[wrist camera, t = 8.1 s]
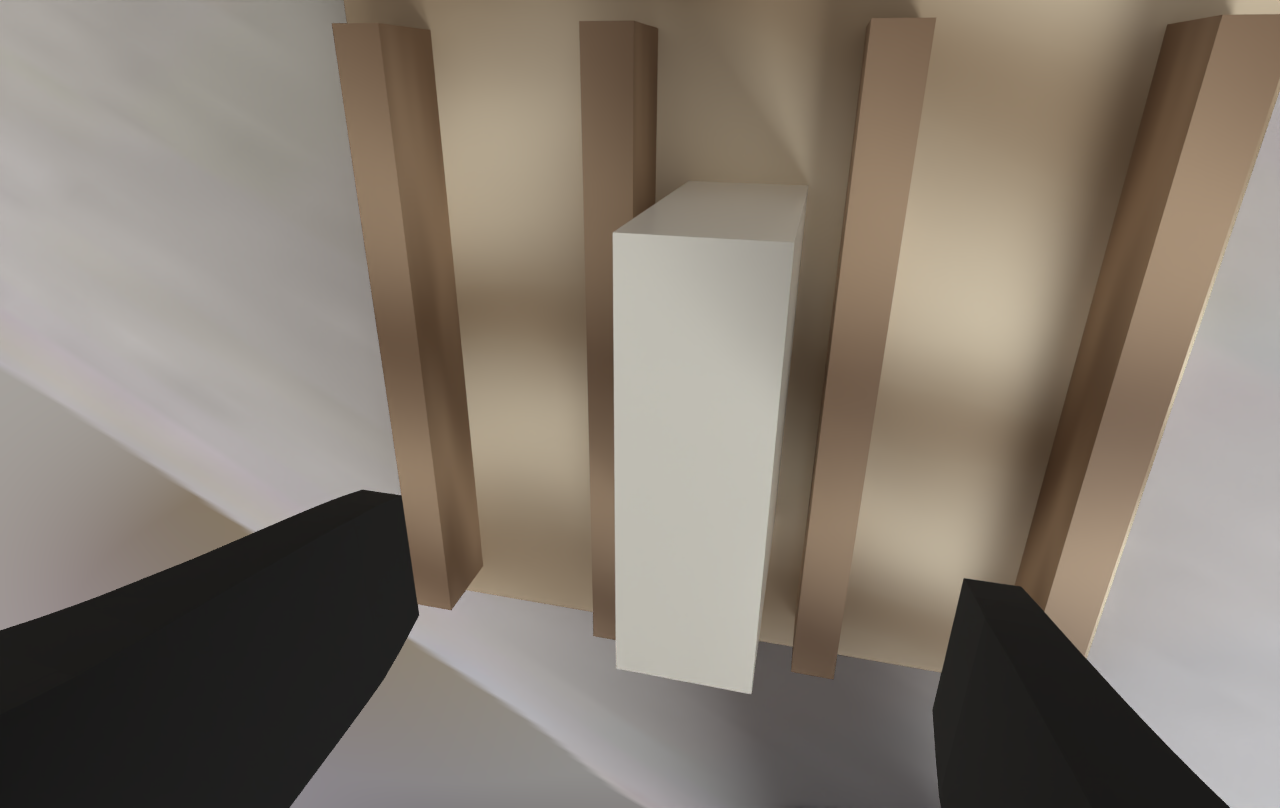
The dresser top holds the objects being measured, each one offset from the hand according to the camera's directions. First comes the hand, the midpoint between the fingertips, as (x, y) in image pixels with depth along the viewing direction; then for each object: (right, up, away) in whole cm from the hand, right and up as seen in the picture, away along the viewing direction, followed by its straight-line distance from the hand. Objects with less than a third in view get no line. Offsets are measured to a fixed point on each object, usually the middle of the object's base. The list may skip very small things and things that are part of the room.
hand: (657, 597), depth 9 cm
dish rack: (+2, +4, +8) cm, 9 cm away
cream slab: (+2, +3, +7) cm, 9 cm away
